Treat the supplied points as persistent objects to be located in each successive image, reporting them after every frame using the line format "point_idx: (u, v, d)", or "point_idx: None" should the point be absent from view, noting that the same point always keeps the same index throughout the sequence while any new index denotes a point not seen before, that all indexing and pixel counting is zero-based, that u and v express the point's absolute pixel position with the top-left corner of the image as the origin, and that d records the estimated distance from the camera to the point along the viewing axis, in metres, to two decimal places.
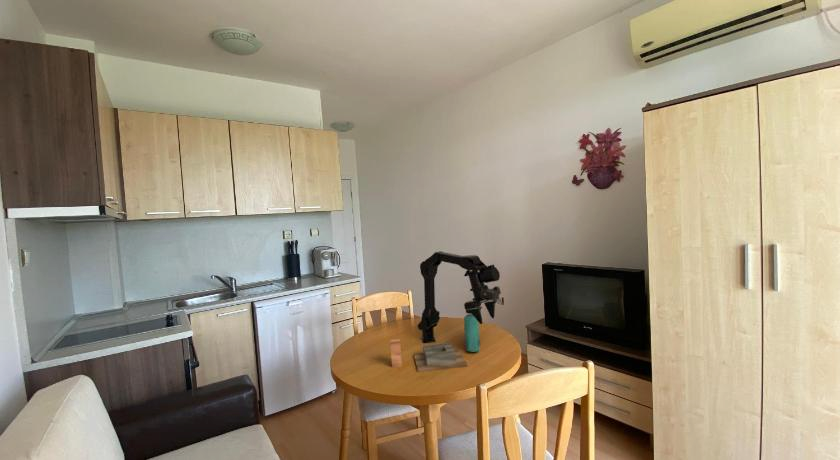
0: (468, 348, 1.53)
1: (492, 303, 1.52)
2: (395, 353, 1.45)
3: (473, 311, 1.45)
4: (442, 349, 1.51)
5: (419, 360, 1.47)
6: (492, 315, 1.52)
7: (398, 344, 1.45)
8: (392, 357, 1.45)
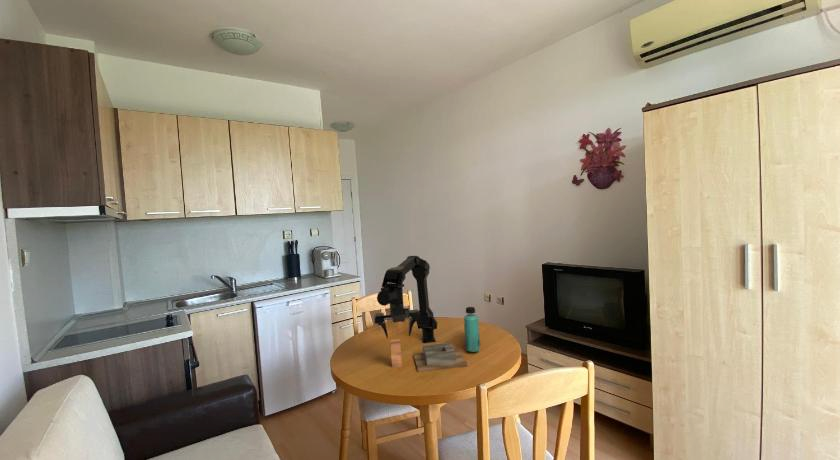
0: (468, 348, 1.53)
1: (410, 322, 1.45)
2: (395, 353, 1.45)
3: None
4: (442, 349, 1.51)
5: (419, 360, 1.47)
6: None
7: (398, 344, 1.45)
8: (392, 357, 1.45)
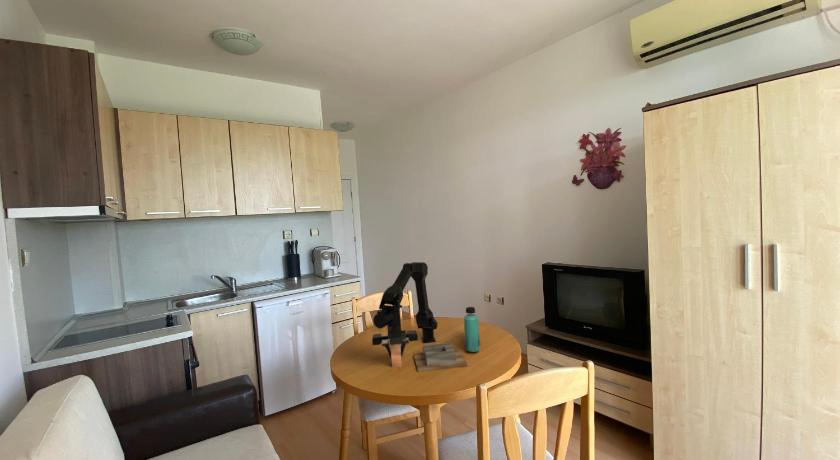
0: (468, 348, 1.53)
1: (401, 343, 1.46)
2: (395, 353, 1.45)
3: None
4: (442, 349, 1.51)
5: (419, 360, 1.47)
6: None
7: (398, 344, 1.45)
8: (392, 357, 1.45)
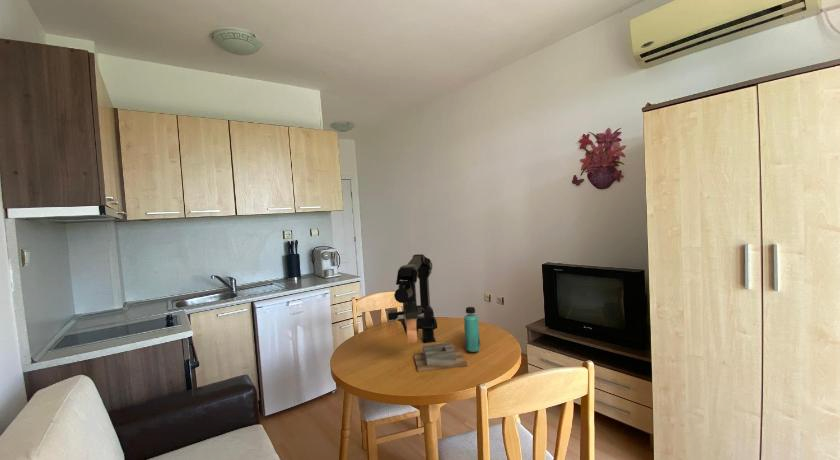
0: (468, 348, 1.53)
1: (417, 319, 1.46)
2: (410, 328, 1.45)
3: None
4: (442, 349, 1.51)
5: (419, 360, 1.47)
6: None
7: (413, 320, 1.45)
8: (408, 332, 1.45)
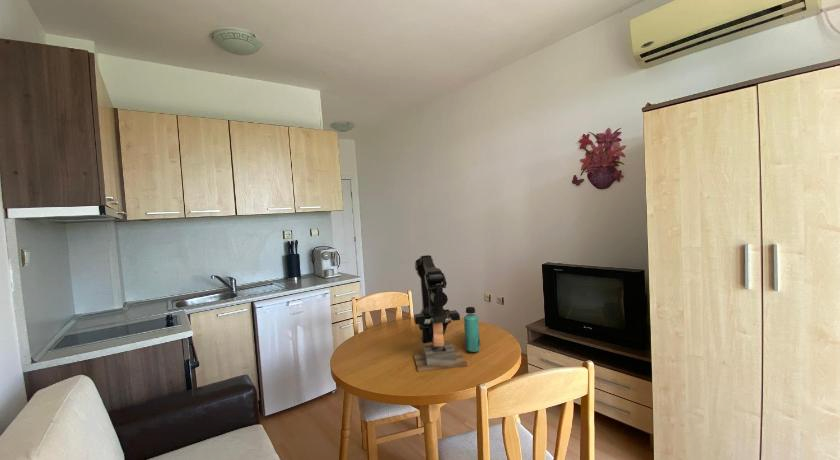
0: (468, 348, 1.53)
1: (443, 323, 1.46)
2: (437, 332, 1.45)
3: None
4: (442, 349, 1.51)
5: (419, 360, 1.47)
6: None
7: (440, 324, 1.45)
8: (434, 336, 1.45)
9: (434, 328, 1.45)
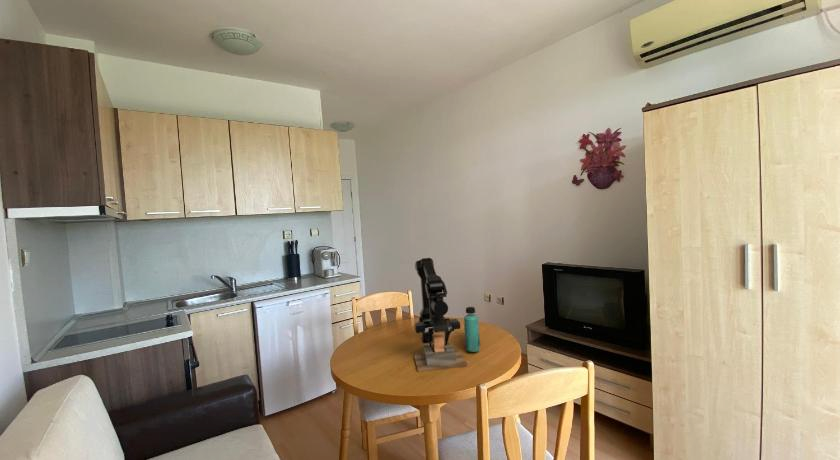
0: (468, 348, 1.53)
1: (446, 331, 1.47)
2: (438, 347, 1.46)
3: None
4: None
5: (419, 360, 1.47)
6: (445, 342, 1.48)
7: (441, 338, 1.46)
8: (435, 351, 1.46)
9: (435, 342, 1.46)
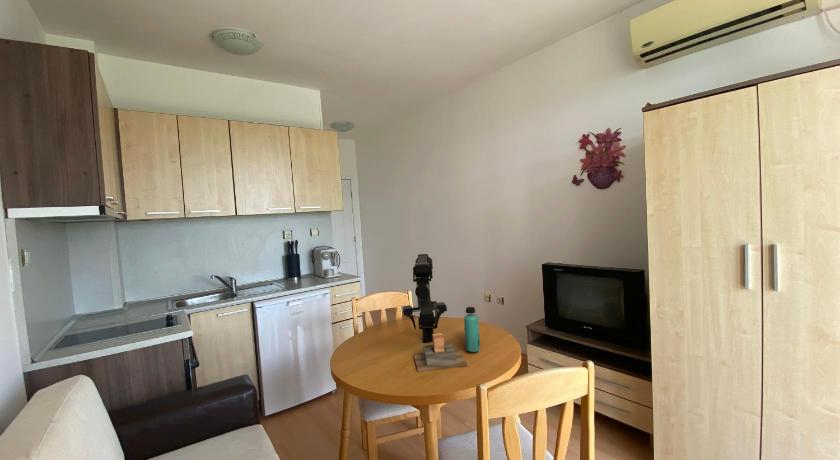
0: (468, 348, 1.53)
1: (436, 314, 1.52)
2: (438, 347, 1.46)
3: None
4: None
5: (419, 360, 1.47)
6: (435, 324, 1.53)
7: (441, 338, 1.46)
8: (435, 351, 1.46)
9: (435, 342, 1.46)
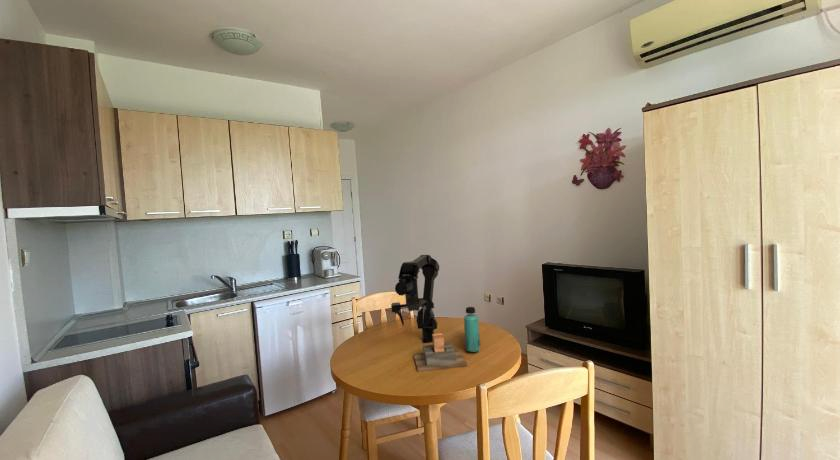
0: (468, 348, 1.53)
1: (424, 311, 1.56)
2: (438, 347, 1.46)
3: None
4: None
5: (419, 360, 1.47)
6: (423, 321, 1.58)
7: (441, 338, 1.46)
8: (435, 351, 1.46)
9: (435, 342, 1.46)
